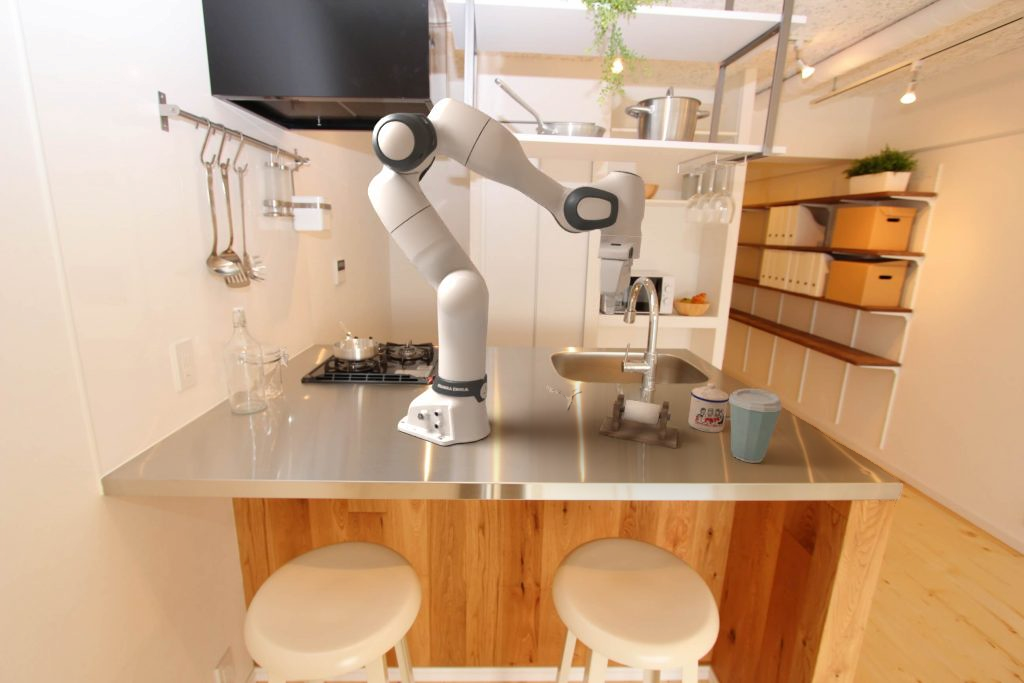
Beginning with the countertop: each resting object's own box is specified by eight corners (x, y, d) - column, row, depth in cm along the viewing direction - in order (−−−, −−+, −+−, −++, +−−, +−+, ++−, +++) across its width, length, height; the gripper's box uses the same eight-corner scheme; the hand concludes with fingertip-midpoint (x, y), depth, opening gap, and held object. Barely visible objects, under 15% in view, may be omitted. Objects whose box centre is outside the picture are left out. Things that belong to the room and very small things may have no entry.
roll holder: (598, 434, 117) (601, 403, 115) (606, 419, 126) (608, 390, 124) (675, 448, 111) (679, 416, 109) (677, 432, 120) (681, 402, 118)
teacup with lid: (691, 431, 121) (697, 388, 118) (683, 418, 129) (688, 377, 127) (741, 435, 119) (748, 391, 117) (729, 421, 128) (735, 380, 125)
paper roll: (616, 411, 122) (613, 421, 117) (618, 394, 120) (614, 404, 115) (670, 420, 117) (668, 431, 113) (672, 403, 115) (670, 413, 111)
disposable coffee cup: (747, 471, 101) (759, 404, 98) (709, 449, 111) (718, 388, 108) (783, 463, 105) (795, 399, 102) (743, 443, 115) (753, 384, 112)
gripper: (613, 247, 116) (607, 304, 119) (596, 249, 97) (590, 316, 100) (639, 249, 114) (633, 306, 117) (627, 251, 95) (620, 319, 98)
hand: (613, 311), depth 109 cm, fingers open, 8 cm apart
